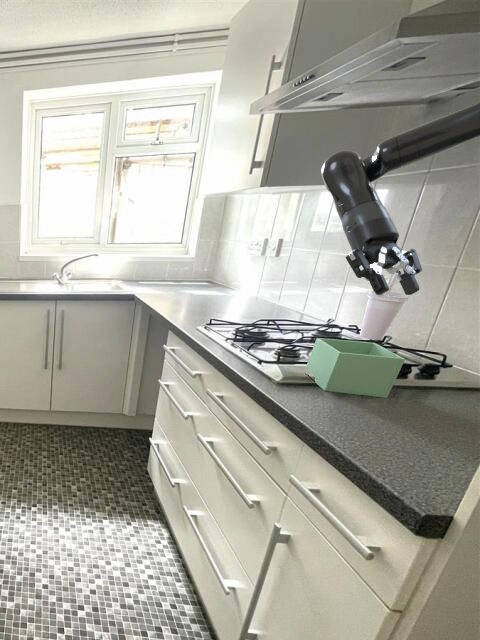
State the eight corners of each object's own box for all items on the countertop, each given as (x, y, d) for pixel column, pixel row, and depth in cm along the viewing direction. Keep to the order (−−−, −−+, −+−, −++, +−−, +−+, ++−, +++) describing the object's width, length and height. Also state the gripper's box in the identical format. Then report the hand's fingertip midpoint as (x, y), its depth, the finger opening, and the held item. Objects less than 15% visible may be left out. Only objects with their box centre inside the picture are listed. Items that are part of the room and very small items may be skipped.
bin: (359, 378, 106) (374, 342, 103) (387, 398, 96) (405, 359, 92) (303, 372, 110) (316, 337, 106) (324, 390, 99) (339, 353, 95)
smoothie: (385, 336, 93) (413, 272, 87) (393, 343, 88) (424, 276, 82) (348, 331, 96) (373, 269, 90) (355, 338, 91) (381, 274, 85)
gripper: (352, 215, 89) (383, 282, 83) (416, 216, 89) (451, 282, 83) (323, 239, 96) (349, 302, 90) (382, 239, 96) (412, 302, 90)
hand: (398, 292), depth 86 cm, fingers closed on smoothie, 6 cm apart
